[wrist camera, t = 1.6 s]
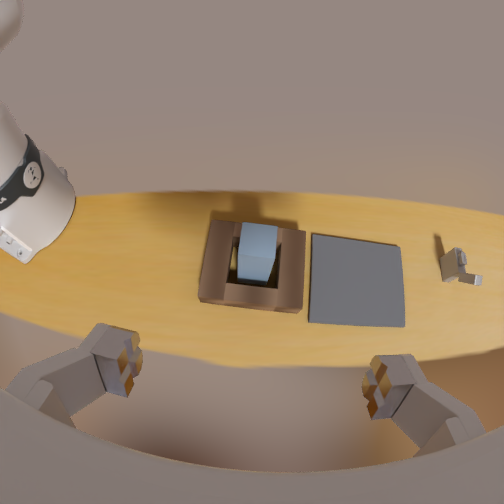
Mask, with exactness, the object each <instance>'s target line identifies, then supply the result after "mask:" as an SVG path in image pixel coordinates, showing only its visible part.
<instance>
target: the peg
mask: <svg viewBox="0 0 504 504" xmlns="http://www.w3.org/2000/svg"><path fill="white" fill-rule="evenodd" d="M277 229H278V226H272V225H264V224H256V223H248V222H243V223H242V230H241V237H240V244H239V251H238V282H240V283H248V284H257V285H265V286H266V284H267V281H268V278H269V275H270V272H271V269H272V266H273V263H274V260H275V254H276V241H277Z"/></svg>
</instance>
